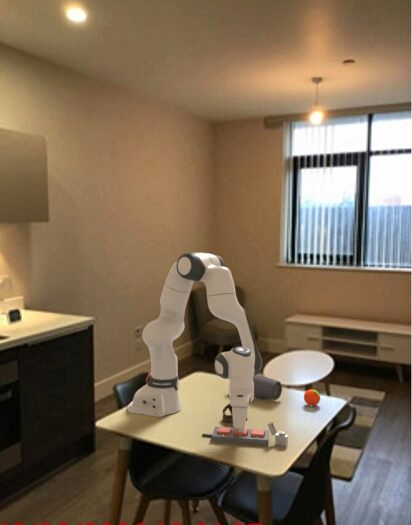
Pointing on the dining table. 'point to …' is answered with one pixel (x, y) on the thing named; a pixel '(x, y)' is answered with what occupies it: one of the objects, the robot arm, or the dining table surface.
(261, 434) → the button
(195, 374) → the dining table surface
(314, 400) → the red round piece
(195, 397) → the dining table surface
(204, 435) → the power strip
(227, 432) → the button
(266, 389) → the bluetooth speaker
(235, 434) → the button
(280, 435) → the lighter
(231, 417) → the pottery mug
